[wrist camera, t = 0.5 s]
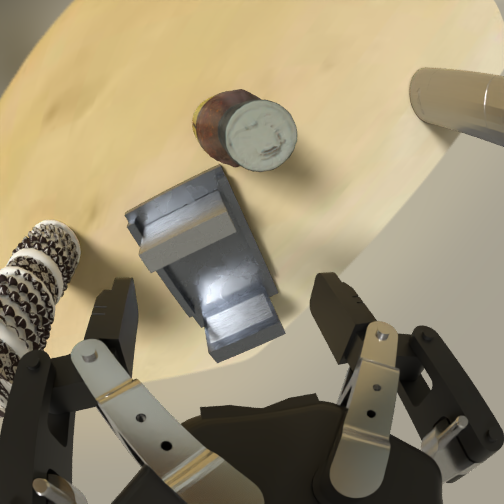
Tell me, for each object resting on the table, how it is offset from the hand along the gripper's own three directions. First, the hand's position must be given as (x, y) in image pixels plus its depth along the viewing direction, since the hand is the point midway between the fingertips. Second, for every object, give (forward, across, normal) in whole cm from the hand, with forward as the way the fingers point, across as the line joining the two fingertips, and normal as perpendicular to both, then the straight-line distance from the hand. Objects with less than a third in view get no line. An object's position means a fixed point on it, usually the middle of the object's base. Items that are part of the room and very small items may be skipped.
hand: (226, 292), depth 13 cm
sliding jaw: (+24, +2, +6) cm, 25 cm away
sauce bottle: (+25, -2, -5) cm, 26 cm away
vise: (+25, -1, +12) cm, 28 cm away
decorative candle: (+25, +20, +11) cm, 34 cm away
